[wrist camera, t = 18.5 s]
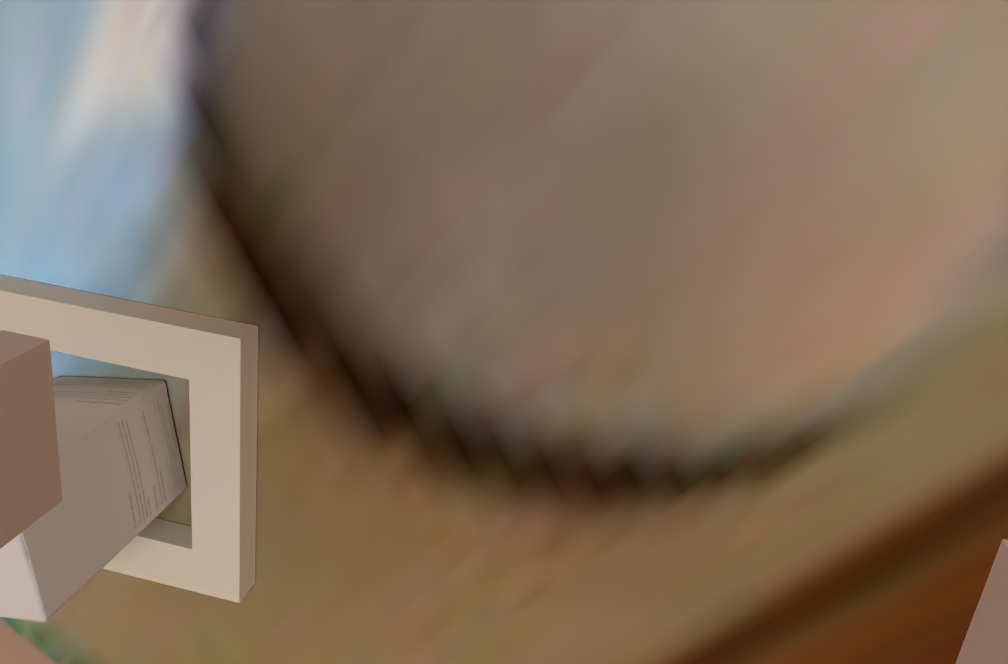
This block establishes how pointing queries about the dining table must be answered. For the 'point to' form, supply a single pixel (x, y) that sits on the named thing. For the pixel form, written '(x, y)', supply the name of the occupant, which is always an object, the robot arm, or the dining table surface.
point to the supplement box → (94, 490)
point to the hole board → (213, 421)
